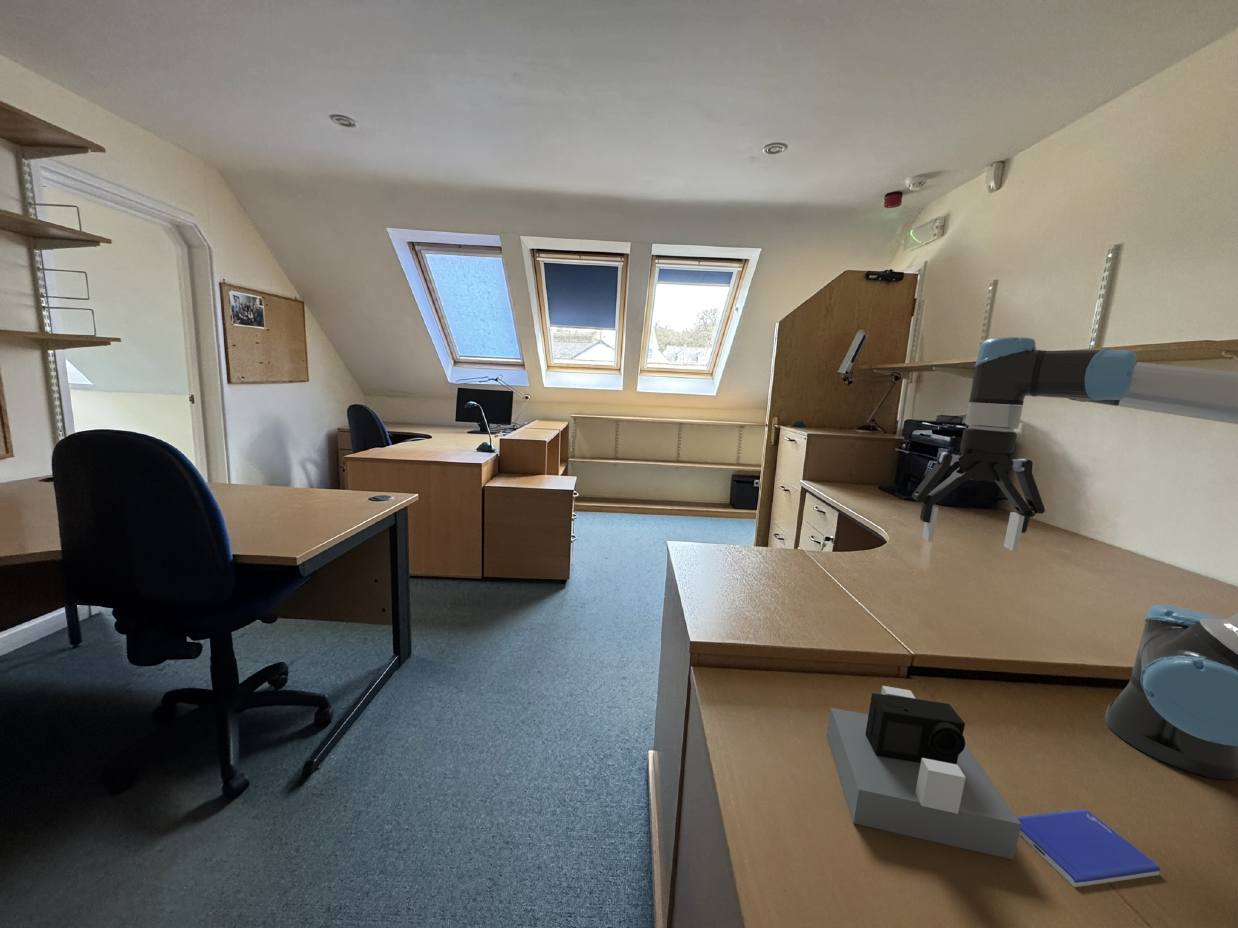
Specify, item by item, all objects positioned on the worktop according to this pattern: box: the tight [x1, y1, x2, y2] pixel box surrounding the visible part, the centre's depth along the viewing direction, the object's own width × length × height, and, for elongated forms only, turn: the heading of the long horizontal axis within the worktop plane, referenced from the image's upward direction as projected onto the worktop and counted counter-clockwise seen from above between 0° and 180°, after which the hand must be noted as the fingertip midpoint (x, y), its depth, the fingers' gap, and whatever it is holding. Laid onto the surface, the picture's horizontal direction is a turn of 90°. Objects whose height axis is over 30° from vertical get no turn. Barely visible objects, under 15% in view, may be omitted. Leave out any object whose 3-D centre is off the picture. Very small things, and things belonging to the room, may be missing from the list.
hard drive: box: [1016, 808, 1161, 888], centre depth 59 cm, size 2×8×12 cm
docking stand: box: [826, 685, 1022, 860], centre depth 66 cm, size 18×17×10 cm
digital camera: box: [865, 692, 966, 765], centre depth 66 cm, size 10×5×7 cm, turn 82°
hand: (967, 544), depth 87 cm, fingers open, 13 cm apart
